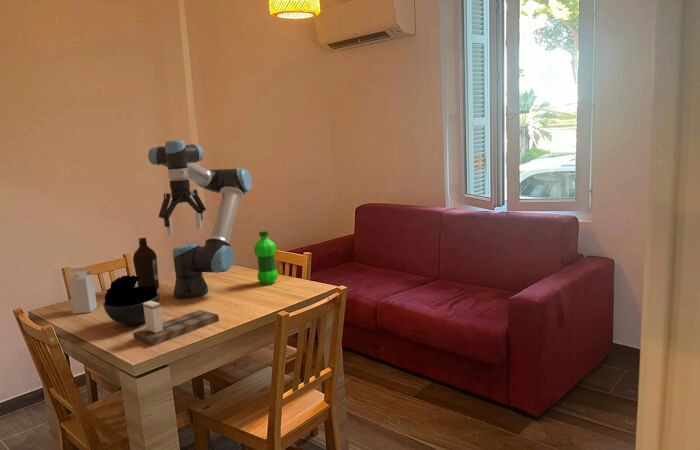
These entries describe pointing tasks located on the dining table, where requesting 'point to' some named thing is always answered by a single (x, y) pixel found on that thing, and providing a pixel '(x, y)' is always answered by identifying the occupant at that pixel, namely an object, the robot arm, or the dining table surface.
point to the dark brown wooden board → (176, 327)
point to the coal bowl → (128, 300)
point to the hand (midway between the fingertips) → (185, 231)
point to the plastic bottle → (266, 259)
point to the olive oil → (146, 265)
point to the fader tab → (153, 316)
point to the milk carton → (82, 290)
